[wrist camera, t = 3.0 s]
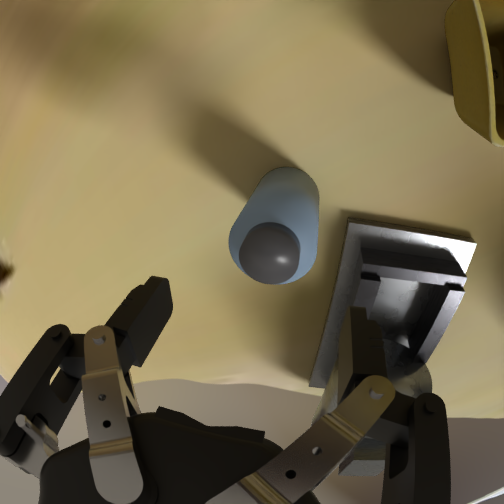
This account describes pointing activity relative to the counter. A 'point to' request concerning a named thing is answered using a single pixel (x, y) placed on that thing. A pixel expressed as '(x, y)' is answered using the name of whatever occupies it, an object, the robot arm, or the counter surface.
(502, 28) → the flower pot
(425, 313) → the electric motor
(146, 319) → the robot arm
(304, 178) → the blue capped cylinder
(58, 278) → the counter surface
